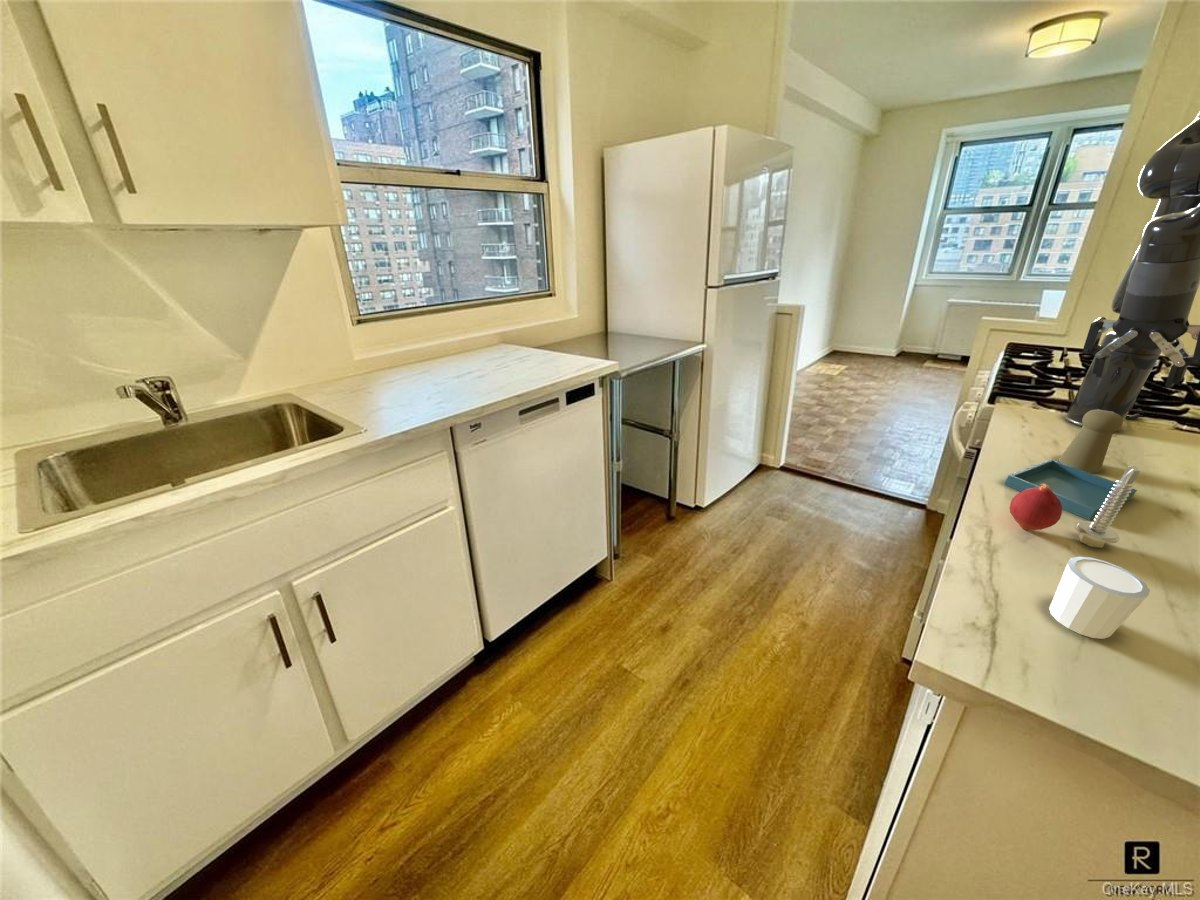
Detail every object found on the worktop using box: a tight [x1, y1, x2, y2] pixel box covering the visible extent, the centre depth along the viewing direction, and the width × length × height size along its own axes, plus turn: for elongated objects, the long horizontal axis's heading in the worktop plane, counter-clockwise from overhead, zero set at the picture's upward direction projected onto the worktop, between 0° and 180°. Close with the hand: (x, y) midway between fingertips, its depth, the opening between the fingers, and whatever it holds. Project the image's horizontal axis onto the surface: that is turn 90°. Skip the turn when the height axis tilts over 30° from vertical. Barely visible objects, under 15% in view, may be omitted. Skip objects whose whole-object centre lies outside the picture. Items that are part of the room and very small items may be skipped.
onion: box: [1009, 484, 1063, 531], centre depth 72 cm, size 6×6×8 cm
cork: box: [1058, 410, 1124, 474], centre depth 90 cm, size 6×6×11 cm
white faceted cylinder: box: [1048, 556, 1151, 640], centre depth 56 cm, size 7×7×7 cm
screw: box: [1073, 465, 1141, 548], centre depth 68 cm, size 13×5×5 cm
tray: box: [1004, 458, 1137, 521], centre depth 83 cm, size 14×12×2 cm
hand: (1133, 380), depth 83 cm, fingers open, 8 cm apart
